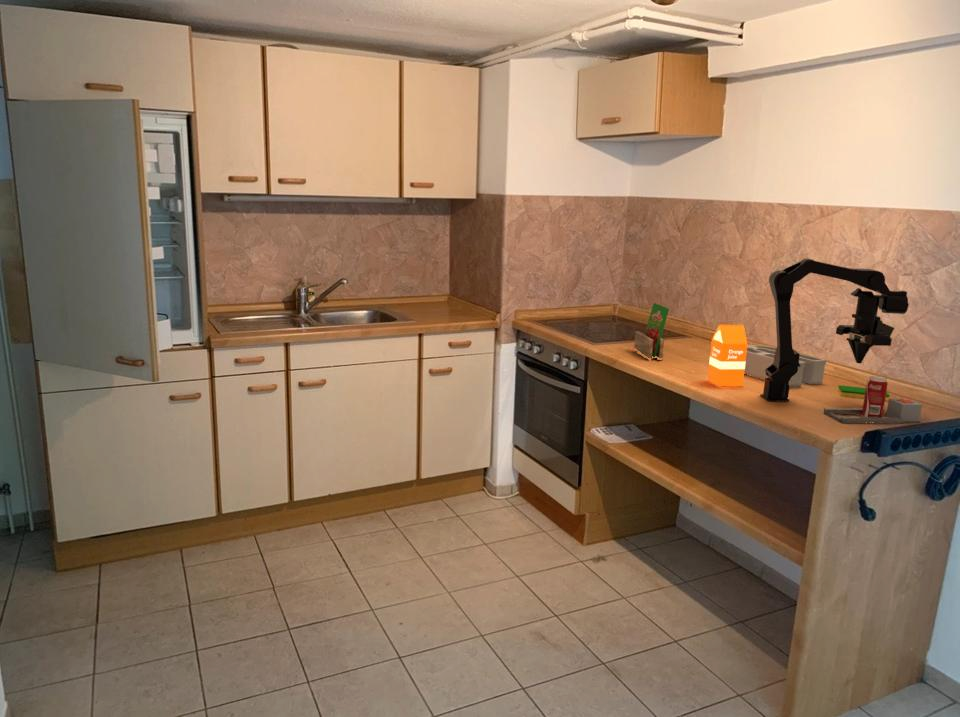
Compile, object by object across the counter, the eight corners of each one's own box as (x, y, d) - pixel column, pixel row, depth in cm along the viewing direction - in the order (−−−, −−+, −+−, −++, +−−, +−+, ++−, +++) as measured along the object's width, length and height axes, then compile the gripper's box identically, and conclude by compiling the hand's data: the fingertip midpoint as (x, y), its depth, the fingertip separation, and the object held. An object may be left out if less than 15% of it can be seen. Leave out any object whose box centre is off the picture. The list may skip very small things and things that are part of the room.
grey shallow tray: (842, 423, 206) (843, 418, 206) (823, 413, 216) (824, 408, 215) (902, 423, 209) (903, 418, 208) (880, 413, 218) (881, 408, 217)
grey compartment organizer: (789, 389, 243) (793, 363, 242) (725, 370, 267) (728, 346, 266) (823, 384, 251) (826, 359, 249) (758, 366, 275) (760, 343, 273)
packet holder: (648, 360, 277) (650, 339, 275) (633, 351, 293) (635, 331, 291) (662, 360, 277) (664, 340, 276) (647, 351, 294) (648, 331, 292)
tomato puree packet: (638, 351, 293) (652, 302, 289) (640, 351, 293) (655, 302, 289) (652, 360, 278) (668, 308, 274) (655, 360, 278) (670, 309, 274)
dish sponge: (888, 402, 232) (889, 395, 231) (840, 397, 236) (841, 390, 236) (884, 396, 239) (885, 389, 238) (837, 392, 243) (838, 384, 242)
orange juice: (742, 387, 243) (750, 327, 239) (717, 387, 242) (724, 326, 237) (731, 381, 251) (737, 322, 246) (706, 381, 249) (713, 322, 245)
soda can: (863, 414, 216) (870, 374, 214) (883, 418, 213) (890, 377, 210) (859, 418, 212) (865, 377, 210) (879, 422, 209) (886, 380, 206)
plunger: (901, 417, 212) (904, 400, 211) (895, 415, 215) (898, 397, 214) (910, 417, 212) (913, 400, 211) (904, 415, 215) (907, 397, 214)
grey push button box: (899, 421, 210) (902, 404, 209) (886, 415, 216) (888, 398, 215) (919, 421, 211) (922, 404, 210) (905, 415, 217) (907, 398, 216)
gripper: (912, 317, 212) (904, 370, 215) (872, 307, 230) (864, 356, 234) (876, 317, 211) (868, 370, 214) (838, 307, 229) (831, 356, 232)
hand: (858, 363), depth 224 cm, fingers closed
